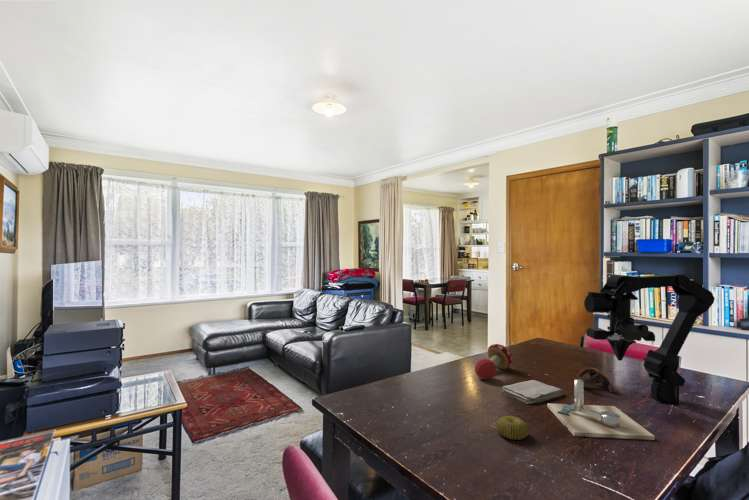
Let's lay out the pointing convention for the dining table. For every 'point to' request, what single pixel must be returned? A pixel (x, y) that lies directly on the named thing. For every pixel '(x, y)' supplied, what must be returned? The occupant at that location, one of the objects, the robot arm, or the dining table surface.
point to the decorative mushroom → (500, 356)
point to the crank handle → (606, 417)
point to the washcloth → (531, 391)
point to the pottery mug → (595, 378)
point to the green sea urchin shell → (512, 427)
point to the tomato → (485, 369)
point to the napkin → (598, 423)
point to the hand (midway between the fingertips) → (619, 360)
